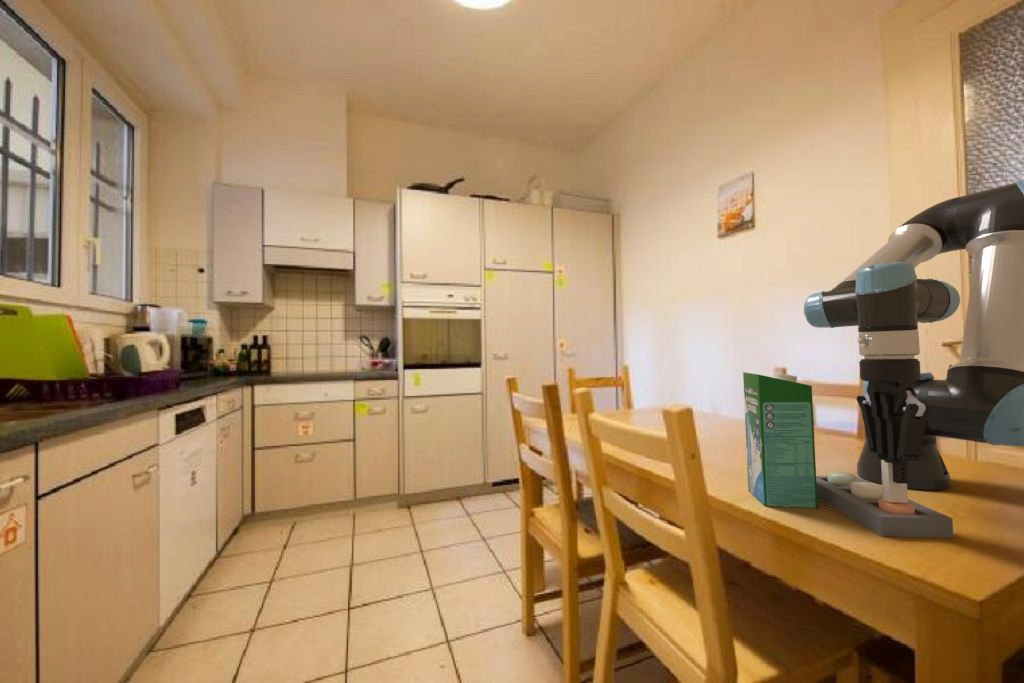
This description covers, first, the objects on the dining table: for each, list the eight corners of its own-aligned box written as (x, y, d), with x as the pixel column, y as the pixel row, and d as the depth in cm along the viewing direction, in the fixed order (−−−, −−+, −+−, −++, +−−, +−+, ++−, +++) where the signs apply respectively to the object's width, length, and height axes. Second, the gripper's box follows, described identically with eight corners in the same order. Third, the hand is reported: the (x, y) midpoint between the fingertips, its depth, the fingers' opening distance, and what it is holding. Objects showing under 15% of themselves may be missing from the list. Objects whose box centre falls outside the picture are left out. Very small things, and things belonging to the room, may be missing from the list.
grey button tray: (803, 490, 88) (803, 475, 88) (856, 490, 87) (855, 476, 87) (881, 536, 66) (880, 517, 67) (953, 538, 65) (952, 518, 65)
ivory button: (871, 497, 79) (870, 481, 79) (889, 506, 74) (888, 489, 74) (845, 497, 79) (845, 481, 79) (862, 505, 75) (861, 489, 75)
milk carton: (818, 508, 79) (811, 373, 79) (764, 506, 80) (758, 374, 81) (796, 492, 87) (790, 370, 88) (748, 490, 89) (742, 371, 90)
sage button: (846, 485, 86) (846, 471, 86) (861, 492, 81) (861, 477, 81) (823, 485, 86) (822, 471, 86) (836, 492, 82) (836, 477, 82)
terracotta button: (901, 515, 72) (900, 497, 72) (923, 525, 67) (922, 507, 67) (872, 514, 72) (871, 497, 72) (892, 525, 68) (891, 506, 68)
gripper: (838, 357, 77) (844, 488, 77) (893, 358, 64) (901, 515, 64) (884, 356, 76) (890, 488, 76) (948, 357, 64) (957, 516, 63)
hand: (895, 500), depth 70 cm, fingers closed
